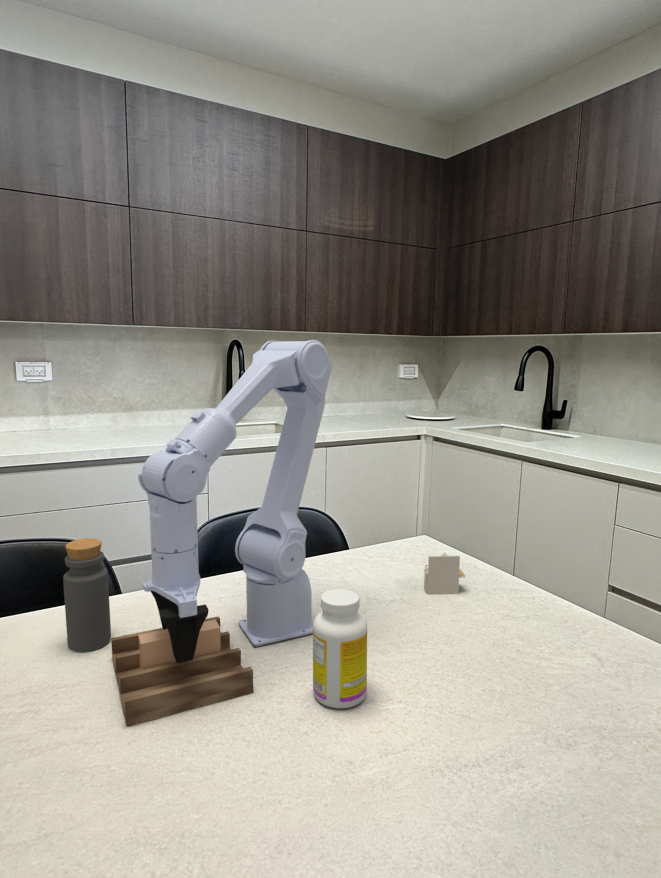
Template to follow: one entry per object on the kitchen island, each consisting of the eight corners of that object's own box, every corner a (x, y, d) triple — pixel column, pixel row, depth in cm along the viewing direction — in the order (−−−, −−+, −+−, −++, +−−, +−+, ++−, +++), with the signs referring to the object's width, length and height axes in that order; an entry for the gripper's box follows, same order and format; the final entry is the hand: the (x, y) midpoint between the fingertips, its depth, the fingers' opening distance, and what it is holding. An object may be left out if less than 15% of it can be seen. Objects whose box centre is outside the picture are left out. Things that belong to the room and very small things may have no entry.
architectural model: (422, 588, 102) (423, 549, 101) (459, 588, 103) (461, 549, 102) (426, 597, 99) (427, 556, 98) (464, 596, 99) (466, 556, 98)
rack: (218, 634, 84) (218, 616, 84) (253, 692, 70) (253, 670, 69) (112, 658, 77) (111, 637, 77) (126, 726, 63) (125, 702, 63)
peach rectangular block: (216, 653, 77) (215, 619, 76) (220, 662, 75) (220, 627, 74) (139, 671, 73) (138, 634, 72) (142, 681, 70) (140, 643, 70)
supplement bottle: (372, 685, 72) (374, 590, 70) (357, 716, 65) (359, 612, 64) (323, 675, 74) (323, 582, 72) (304, 704, 68) (304, 603, 66)
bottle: (95, 654, 78) (89, 552, 76) (58, 650, 79) (51, 548, 77) (119, 634, 84) (114, 538, 82) (84, 630, 85) (78, 535, 83)
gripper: (133, 533, 76) (138, 627, 78) (151, 570, 63) (155, 682, 65) (186, 526, 79) (189, 617, 81) (213, 561, 66) (216, 668, 68)
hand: (178, 645), depth 73 cm, fingers open, 7 cm apart
